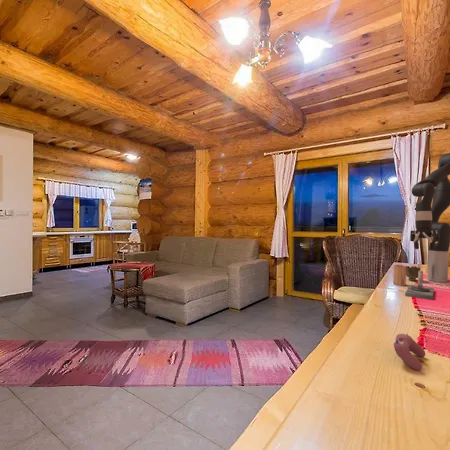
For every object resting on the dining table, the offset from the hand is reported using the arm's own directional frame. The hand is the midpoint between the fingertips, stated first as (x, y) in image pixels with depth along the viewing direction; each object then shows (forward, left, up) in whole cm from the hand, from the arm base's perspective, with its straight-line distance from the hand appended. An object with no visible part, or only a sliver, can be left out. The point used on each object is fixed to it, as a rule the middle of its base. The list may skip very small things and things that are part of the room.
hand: (424, 249), depth 154 cm
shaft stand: (+25, +11, -19) cm, 33 cm away
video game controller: (+96, +47, -19) cm, 108 cm away
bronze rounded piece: (-1, -7, -19) cm, 20 cm away
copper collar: (+16, -4, -19) cm, 25 cm away
